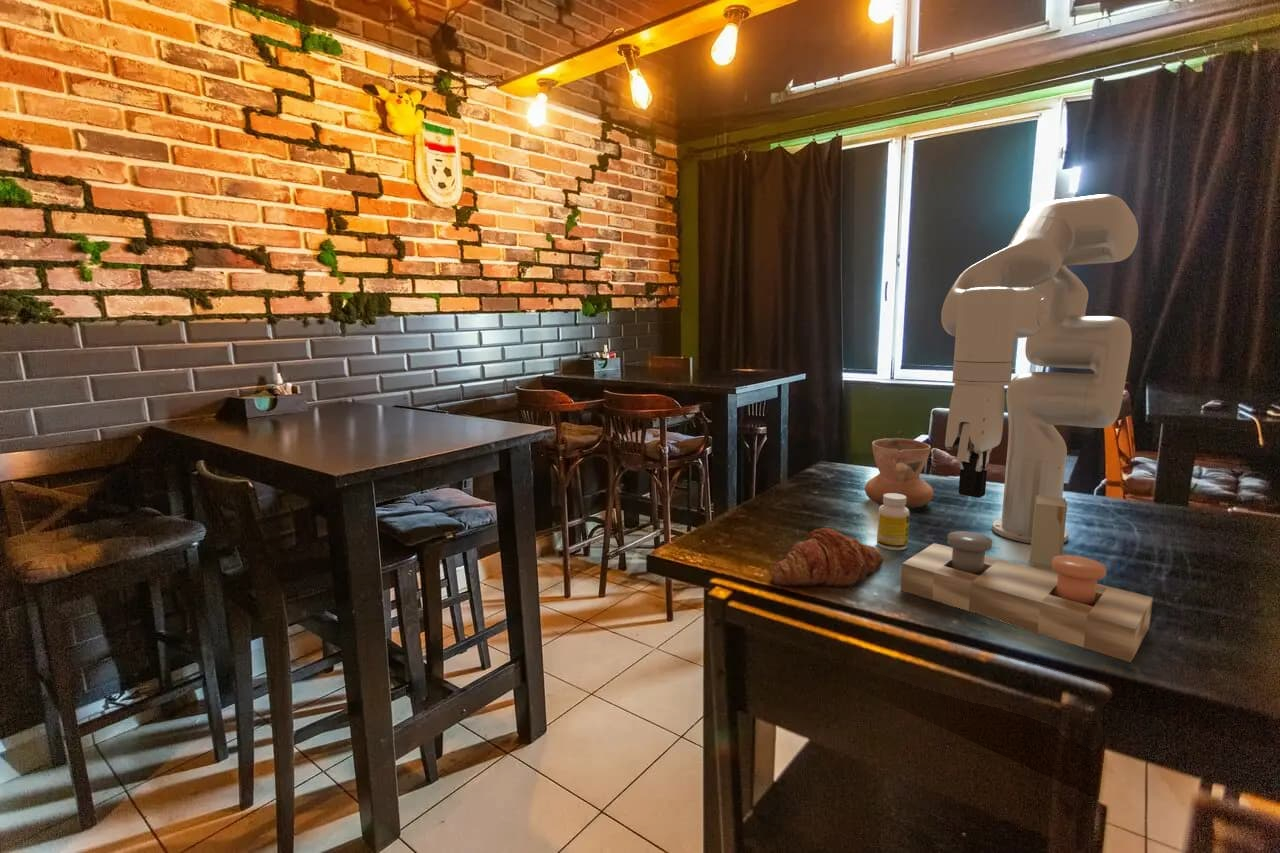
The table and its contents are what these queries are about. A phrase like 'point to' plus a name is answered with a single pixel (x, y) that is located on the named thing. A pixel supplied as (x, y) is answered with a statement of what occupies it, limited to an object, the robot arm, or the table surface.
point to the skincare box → (1047, 531)
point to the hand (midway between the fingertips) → (971, 495)
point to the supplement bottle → (893, 522)
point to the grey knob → (969, 551)
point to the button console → (1032, 601)
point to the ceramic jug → (900, 471)
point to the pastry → (827, 561)
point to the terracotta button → (1077, 578)
